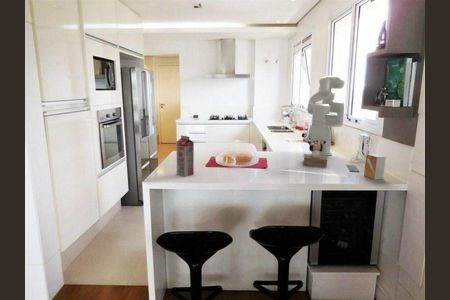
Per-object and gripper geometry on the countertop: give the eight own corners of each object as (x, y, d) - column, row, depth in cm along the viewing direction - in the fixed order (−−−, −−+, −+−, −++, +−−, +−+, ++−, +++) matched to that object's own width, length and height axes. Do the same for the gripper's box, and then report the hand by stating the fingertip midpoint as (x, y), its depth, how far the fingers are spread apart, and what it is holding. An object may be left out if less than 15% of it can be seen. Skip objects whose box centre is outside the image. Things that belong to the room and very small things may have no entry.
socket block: (303, 162, 197) (304, 153, 196) (324, 164, 194) (325, 155, 193) (303, 167, 184) (304, 158, 183) (326, 169, 180) (327, 159, 179)
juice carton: (185, 172, 166) (185, 134, 161) (193, 174, 162) (193, 136, 157) (176, 174, 161) (176, 135, 156) (184, 177, 156) (184, 137, 152)
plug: (309, 160, 191) (310, 144, 189) (317, 160, 191) (318, 144, 189) (312, 162, 186) (313, 145, 183) (320, 162, 186) (322, 145, 184)
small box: (363, 175, 167) (366, 153, 165) (372, 175, 169) (374, 153, 167) (374, 179, 160) (377, 156, 157) (383, 178, 162) (386, 156, 159)
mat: (335, 164, 193) (335, 163, 193) (355, 166, 190) (355, 165, 190) (338, 170, 178) (338, 169, 178) (359, 172, 175) (359, 171, 174)
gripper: (328, 123, 188) (325, 150, 192) (302, 122, 187) (300, 149, 190) (333, 124, 181) (330, 152, 184) (307, 124, 179) (304, 152, 183)
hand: (315, 150), depth 187 cm, fingers closed on plug, 5 cm apart
